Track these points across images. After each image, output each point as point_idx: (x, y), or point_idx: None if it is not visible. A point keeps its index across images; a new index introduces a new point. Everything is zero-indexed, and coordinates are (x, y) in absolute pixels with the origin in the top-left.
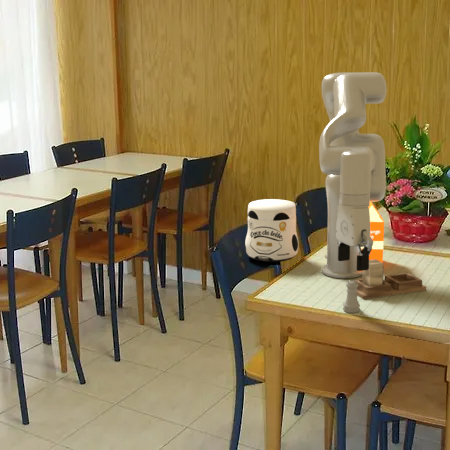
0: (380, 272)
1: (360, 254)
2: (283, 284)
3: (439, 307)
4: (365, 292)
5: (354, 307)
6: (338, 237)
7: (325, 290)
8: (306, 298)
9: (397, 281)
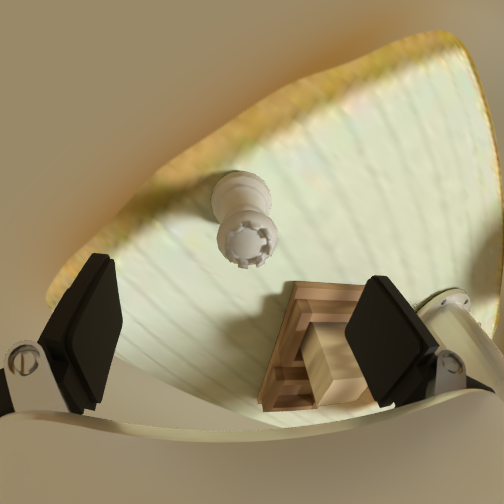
0: (312, 377)
1: (17, 354)
2: (484, 173)
3: (162, 373)
4: (306, 302)
5: (213, 197)
6: (471, 423)
7: (408, 233)
8: (401, 146)
9: (290, 383)
